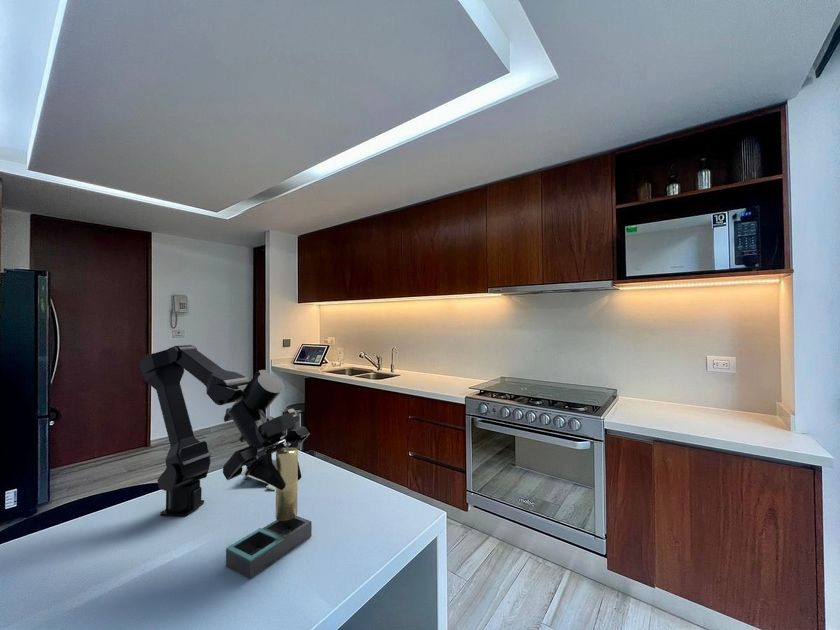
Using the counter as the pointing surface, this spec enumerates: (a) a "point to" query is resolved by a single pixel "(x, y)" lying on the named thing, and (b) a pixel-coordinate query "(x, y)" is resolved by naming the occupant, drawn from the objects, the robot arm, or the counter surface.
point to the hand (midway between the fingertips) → (292, 483)
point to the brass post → (287, 483)
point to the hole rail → (266, 546)
